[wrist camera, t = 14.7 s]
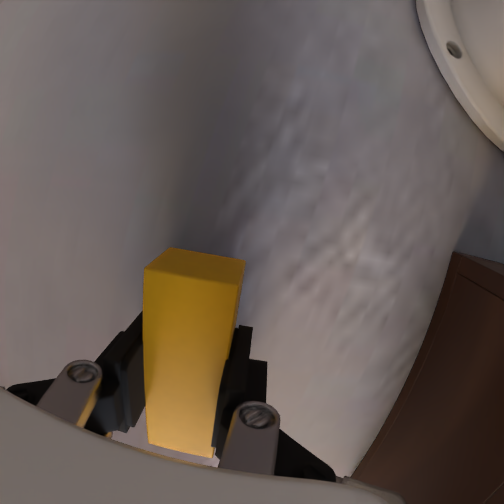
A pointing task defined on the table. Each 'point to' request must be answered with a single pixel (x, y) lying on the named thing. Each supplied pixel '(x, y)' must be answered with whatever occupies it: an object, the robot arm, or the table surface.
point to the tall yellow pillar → (187, 344)
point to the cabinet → (450, 399)
